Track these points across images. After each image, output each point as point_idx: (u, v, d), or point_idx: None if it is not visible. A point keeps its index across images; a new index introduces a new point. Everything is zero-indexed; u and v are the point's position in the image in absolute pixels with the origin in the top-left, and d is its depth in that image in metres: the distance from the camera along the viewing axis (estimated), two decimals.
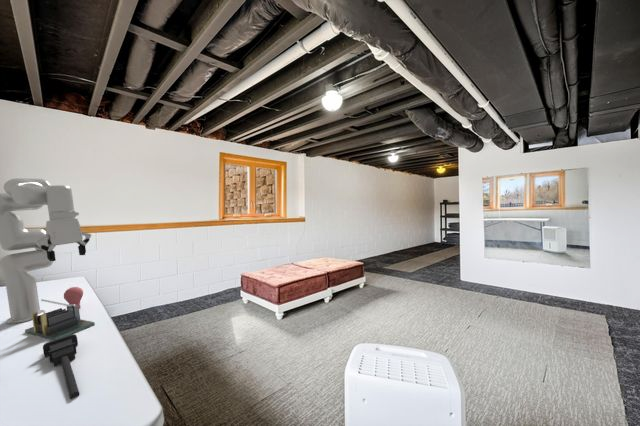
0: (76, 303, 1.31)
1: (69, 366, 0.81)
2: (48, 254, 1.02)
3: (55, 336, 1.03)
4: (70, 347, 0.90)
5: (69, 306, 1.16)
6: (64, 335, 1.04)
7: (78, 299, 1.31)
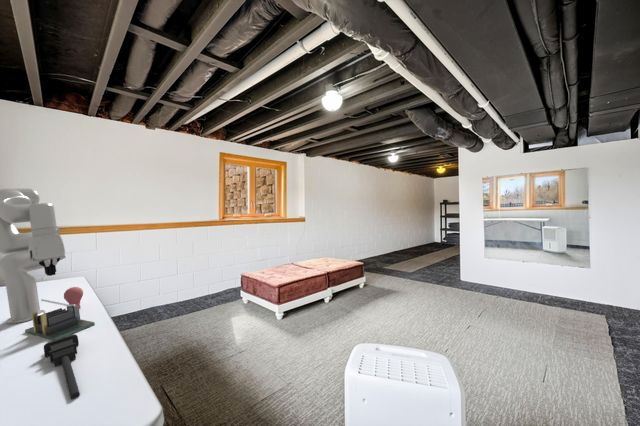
0: (76, 303, 1.31)
1: (70, 366, 0.80)
2: (46, 269, 1.11)
3: (55, 336, 1.03)
4: (71, 347, 0.90)
5: (69, 306, 1.16)
6: (64, 335, 1.04)
7: (78, 299, 1.31)
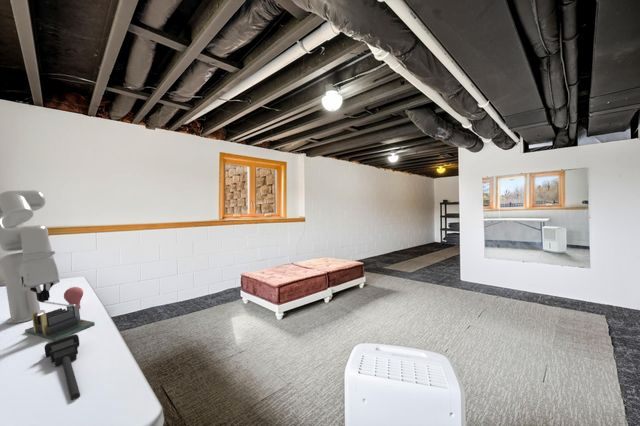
0: (76, 303, 1.31)
1: (70, 367, 0.80)
2: (37, 295, 1.06)
3: (55, 336, 1.03)
4: (71, 347, 0.89)
5: (69, 306, 1.16)
6: (64, 335, 1.04)
7: (78, 299, 1.31)
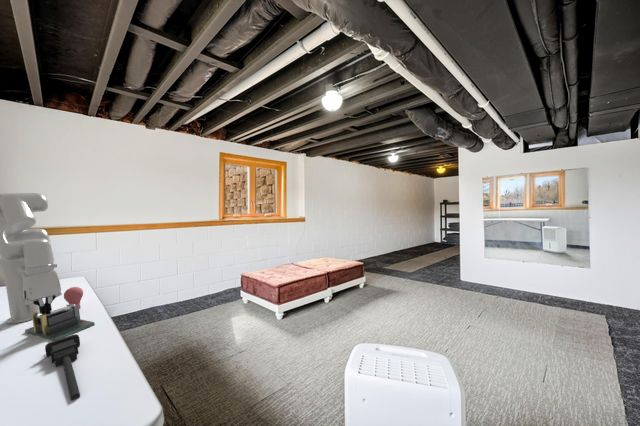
0: (76, 303, 1.31)
1: (70, 367, 0.80)
2: (40, 309, 1.07)
3: (55, 336, 1.03)
4: (72, 347, 0.89)
5: None
6: (64, 335, 1.04)
7: (78, 299, 1.31)
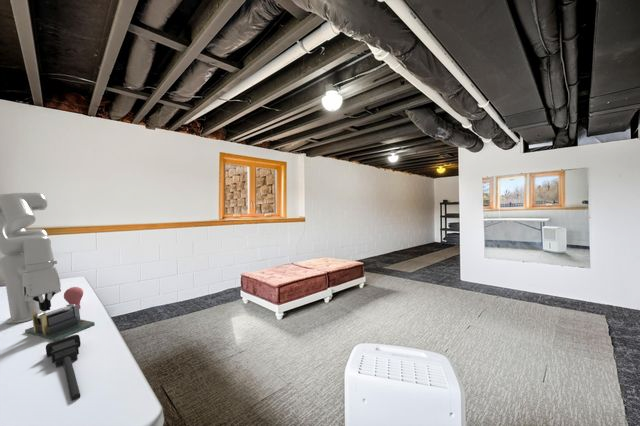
0: (76, 303, 1.31)
1: (71, 367, 0.80)
2: (40, 305, 1.07)
3: (55, 336, 1.03)
4: (72, 347, 0.89)
5: None
6: (64, 335, 1.04)
7: (78, 299, 1.31)
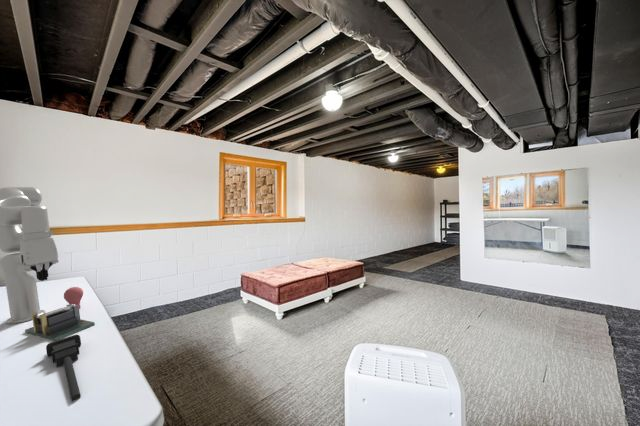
0: (76, 303, 1.31)
1: (71, 367, 0.80)
2: (37, 274, 1.08)
3: (55, 336, 1.03)
4: (73, 348, 0.89)
5: None
6: (64, 335, 1.04)
7: (78, 299, 1.31)
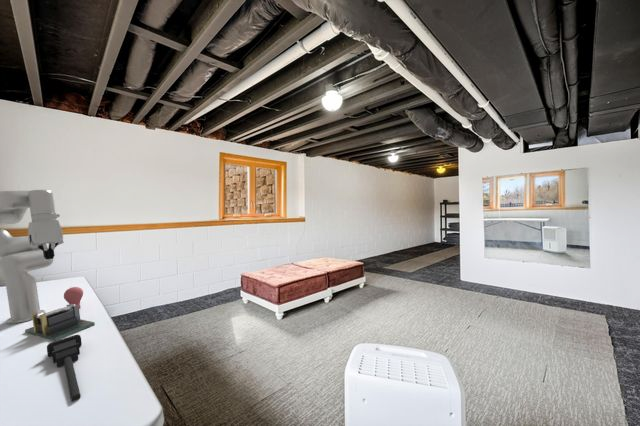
0: (76, 303, 1.31)
1: (72, 367, 0.80)
2: (44, 253, 1.16)
3: (55, 336, 1.03)
4: (73, 348, 0.89)
5: None
6: (64, 335, 1.04)
7: (78, 299, 1.31)
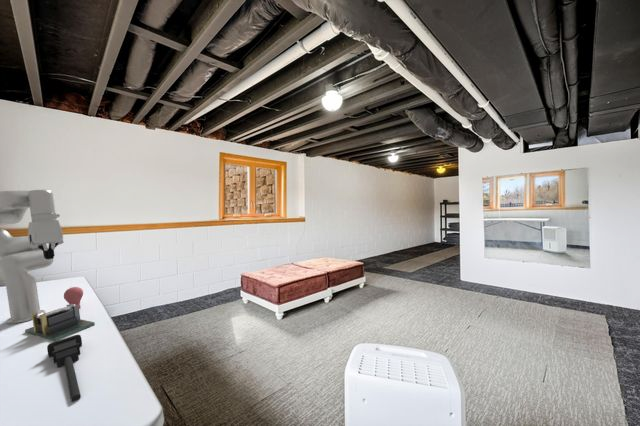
0: (76, 303, 1.31)
1: (72, 367, 0.80)
2: (44, 253, 1.16)
3: (55, 336, 1.03)
4: (74, 348, 0.89)
5: None
6: (64, 335, 1.04)
7: (78, 299, 1.31)
